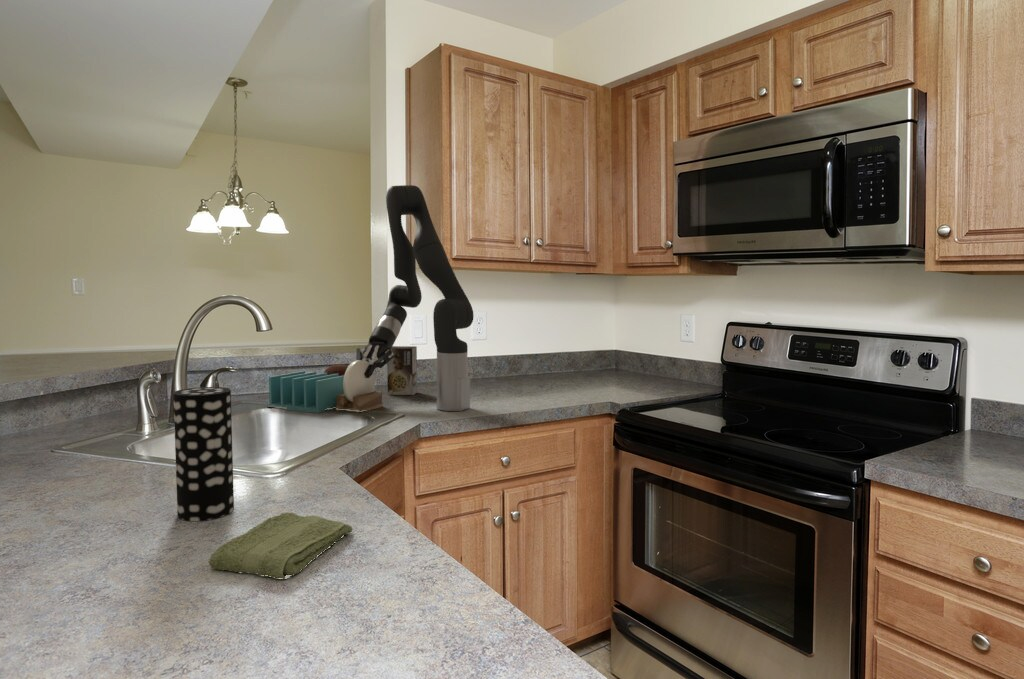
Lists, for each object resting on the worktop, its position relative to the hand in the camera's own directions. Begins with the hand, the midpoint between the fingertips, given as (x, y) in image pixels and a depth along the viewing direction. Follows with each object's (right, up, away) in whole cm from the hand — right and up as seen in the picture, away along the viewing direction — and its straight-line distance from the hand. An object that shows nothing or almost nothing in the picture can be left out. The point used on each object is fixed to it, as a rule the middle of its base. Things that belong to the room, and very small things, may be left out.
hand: (362, 376), depth 193 cm
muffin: (-13, -8, +23) cm, 28 cm away
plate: (-1, -2, -1) cm, 2 cm away
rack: (-17, -9, +3) cm, 19 cm away
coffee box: (+7, -8, +26) cm, 28 cm away
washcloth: (+13, -19, -103) cm, 106 cm away
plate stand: (-1, -10, -1) cm, 10 cm away
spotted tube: (-5, -17, -89) cm, 91 cm away
